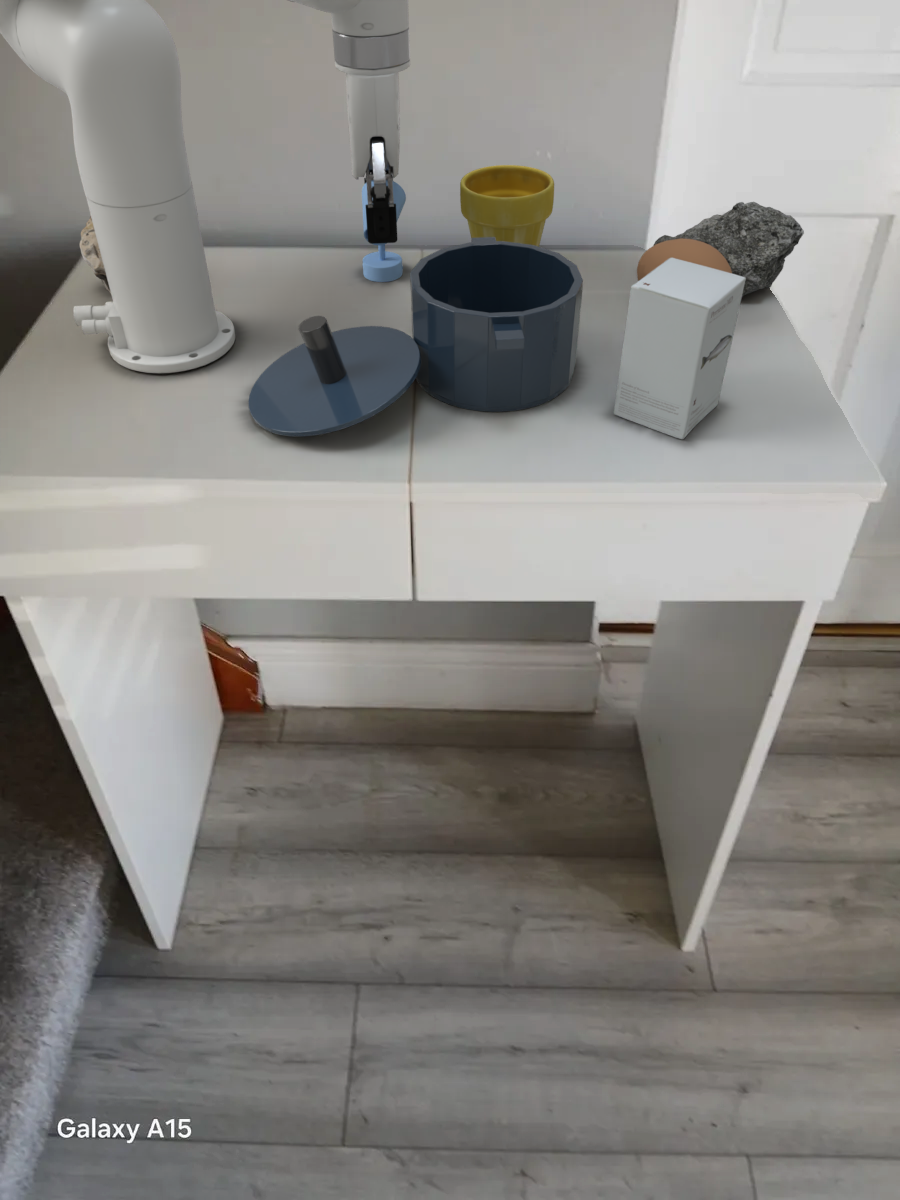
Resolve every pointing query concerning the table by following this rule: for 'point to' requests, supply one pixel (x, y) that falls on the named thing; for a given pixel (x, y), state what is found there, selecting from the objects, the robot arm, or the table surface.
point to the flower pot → (507, 202)
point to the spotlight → (383, 244)
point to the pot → (495, 324)
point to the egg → (681, 255)
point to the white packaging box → (677, 345)
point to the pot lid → (334, 379)
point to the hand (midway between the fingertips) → (381, 226)
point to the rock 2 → (749, 241)
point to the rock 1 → (93, 252)
